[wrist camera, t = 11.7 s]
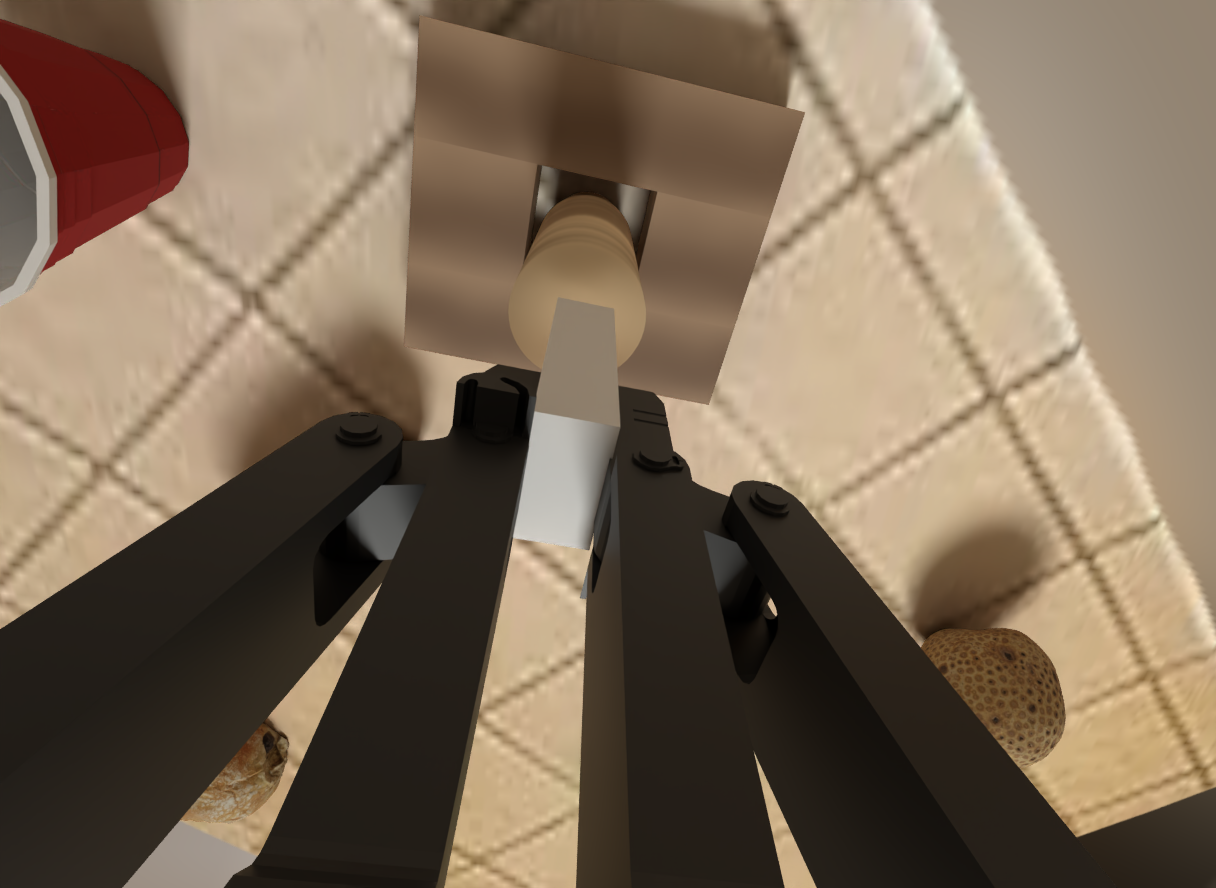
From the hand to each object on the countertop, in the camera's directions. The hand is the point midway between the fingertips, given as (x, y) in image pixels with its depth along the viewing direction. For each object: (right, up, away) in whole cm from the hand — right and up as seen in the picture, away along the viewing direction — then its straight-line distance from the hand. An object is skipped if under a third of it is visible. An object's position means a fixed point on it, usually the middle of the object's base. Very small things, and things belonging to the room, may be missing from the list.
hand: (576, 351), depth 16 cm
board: (0, +8, +14) cm, 17 cm away
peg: (0, +8, +14) cm, 17 cm away
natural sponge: (+26, -17, +29) cm, 43 cm away
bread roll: (-31, -28, +36) cm, 55 cm away
